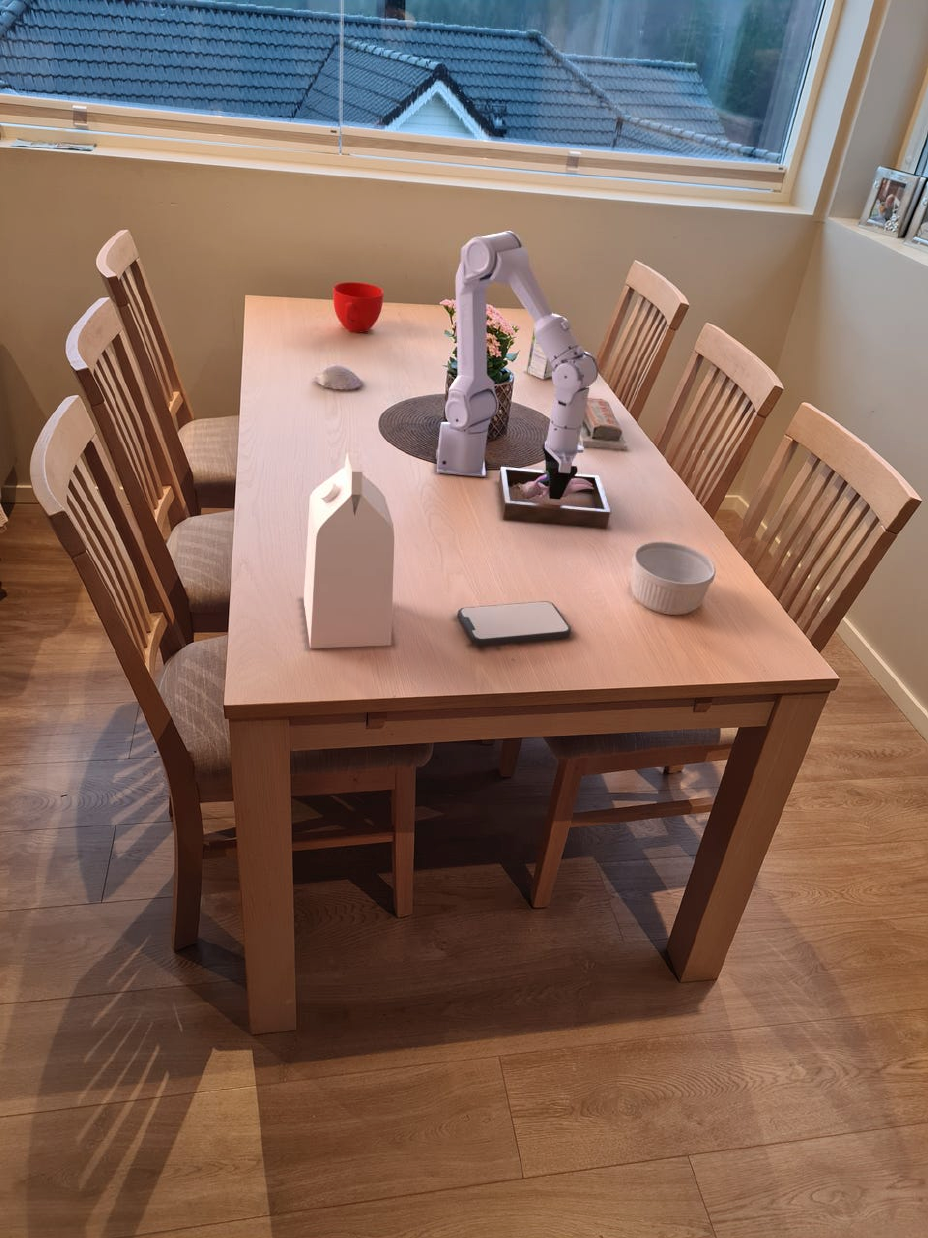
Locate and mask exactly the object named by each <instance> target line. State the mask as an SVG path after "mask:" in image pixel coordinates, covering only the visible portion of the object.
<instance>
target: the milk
mask: <svg viewBox="0 0 928 1238" xmlns="http://www.w3.org/2000/svg"><path fill="white" fill-rule="evenodd" d="M345 454H346V456H345V460H344V467H342V468H340V469H339V470H338V471H337V472H335V473H334V474H333V475H332V476H330V477H329V478H327V479H326V480H324V481H323V482H322V483H321V484H319V485H318V486H317V487H316V488H315V489H314V490H313V491H312V493H311V495H310V497H309V504H308V505H309V506H308V521H307V522H308V523H307V540H306V556H305V557H306V558H305V573H304V589H303V592H304V593H303V605H304V610H305V613H304V614H305V619H306V626H307V627H306V628H307V634H308V642H309V649H332V648H355V647H356V648H357V647H358V648H359V647H360V648H361V647H363V648H364V647H385V646H392V629H393V627H392V626H393V598H394V566H395V565H394V564H395V529H394V522H393V519H392V516H391V512H390V509H389V506H388V503H387V499H386V497H385V495H384V494H383V492H382V491H381V490H380V488H379V487H378V486H377V485H376V484H375V483H374V482H372V481H371V480H370V479H369V478H367V476H366V475H365V474H363V468H362V466H361V461H360V458H359V455H358V451H346V453H345Z"/></svg>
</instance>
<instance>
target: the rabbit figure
mask: <svg viewBox="0 0 928 1238" xmlns="http://www.w3.org/2000/svg"><path fill="white" fill-rule="evenodd" d="M542 471H543V472H544V473H545V475H543V476H541V477H539V478H538V479H537V480H536V481H534V482H528V483H526V484H520V483H518V484H517V485H516V486H515V485H514V484H513V485H514V486H512V491H513V492H512V493H513V494H514V497H515V499H518V495H519V493H520V494H521V496H522V498H523V499H524V500H531V499H533V498H535V497H537V496H539V498H540V499H543V498H544V497H546V496H548V494H549V487H546V486H545V485H543V484H542V483H540V482H546V481H548V480H549V473H548V471H546V470H542ZM537 484H538V485H537ZM539 485H540V486H539ZM588 485H589V486H588ZM517 486H519V487H517ZM590 486H592V484H591V483H590V482H588V481H587V480H585V479H581V478H574V479H571V480H570V482H569V483H568V485H567V487H566V489H565V492H564V494H563V496H562V498H561V499H564V498H567V497H568V496H569V495H571V494H572V493H577V492H576V491H579V490H582V489H594V488H593V487H590ZM516 488H519V490H518V491H517V490H516Z"/></svg>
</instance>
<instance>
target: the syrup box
mask: <svg viewBox="0 0 928 1238" xmlns="http://www.w3.org/2000/svg"><path fill="white" fill-rule="evenodd" d="M552 313H553V314H555V315H558V316H560V315H559V314H557V313H554V312H552ZM562 317H563V316H562ZM563 318H564V320H565V321H568V322H569V320H568V319H567V318H565V317H563ZM535 327H536V324H535V323H534V326H533V331H532V337H531V342H530V347H529V348H530V350H529V355H528V360H527V367H526V374H529V375H531V376H533V377H536V378H538V379H541V380H547V379H550V378H551V379H552V371H555V370H554V369H553V367H552V365H551V364H550V362H549V360H548V358H547V357H546V355H545V353H544V352H543V350H542V348H541V346H540V345H539V343H538V341H537V339H536V338H535V336H534V333H535Z"/></svg>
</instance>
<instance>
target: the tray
mask: <svg viewBox="0 0 928 1238" xmlns="http://www.w3.org/2000/svg"><path fill="white" fill-rule="evenodd" d="M543 471H544V470H540V469H531V468H518V467H509V466H500V469H499V478H498V490H499V499H500V506H501V514H502V515H501V516H502V520H504V521H513V522H524V523H537V524H546V525H547V524H549V525H557V526H559V525H560V526H571V527H581V528H583V527H584V528H595V529H605V530H606V529H607V528H608V523H609V519H610V515H611V513H612V512H611V508H610V505H609V502H608V500H607V496H606V493H605V490H604V486H603V483H602V480H601V477H600V476H599V475H595V474H584V473H576V475H575V476H574V477H573V478H572V479H574V478H581V479H585V480H587V481H588V482H590V483H591V484H592V486H590V487H593V488H594V489H582V490H579V491H576V492H575V493H582V494H591V495H592V498H593V502H594V505H595V508H594V507H583V506H572V505H561V504H549V503H539V502H538V503H537V502H528V501H513V500H511V497H510V490H509V487H513V486H514V485H515V486H516V485H517V484H518V483H520V484H526V483H528V482H534V481H536V480H537V479H538V478H539V477H541V476H543V475H545V473H544V472H543ZM540 483H542V484H543V485H545V486H546V487H549V483H546V482H540ZM513 484H514V485H513ZM537 485H538V484H537ZM539 486H540V485H539ZM588 486H589V485H588ZM516 488H520V487H519V486H517V487H516Z"/></svg>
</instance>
